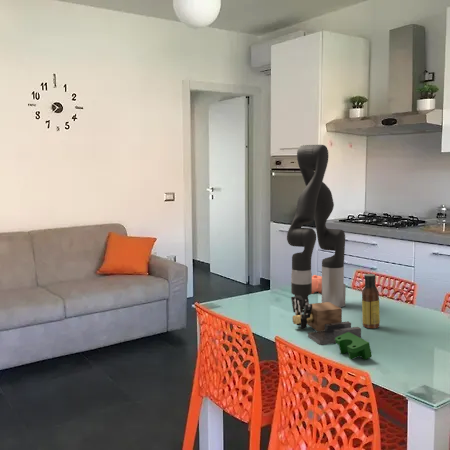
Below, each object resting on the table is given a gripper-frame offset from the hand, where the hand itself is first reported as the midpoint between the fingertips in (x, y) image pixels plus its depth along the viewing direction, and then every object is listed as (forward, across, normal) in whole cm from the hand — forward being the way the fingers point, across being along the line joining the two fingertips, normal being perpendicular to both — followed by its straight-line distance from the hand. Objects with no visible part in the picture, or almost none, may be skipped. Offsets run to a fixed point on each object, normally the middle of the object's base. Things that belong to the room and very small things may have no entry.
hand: (301, 326), depth 194 cm
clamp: (+1, -30, -4) cm, 31 cm away
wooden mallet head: (+1, 0, -9) cm, 9 cm away
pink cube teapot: (+1, +49, -30) cm, 58 cm away
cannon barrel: (-1, 0, -5) cm, 5 cm away
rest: (+1, -14, -6) cm, 15 cm away
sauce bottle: (+1, -7, -25) cm, 26 cm away
